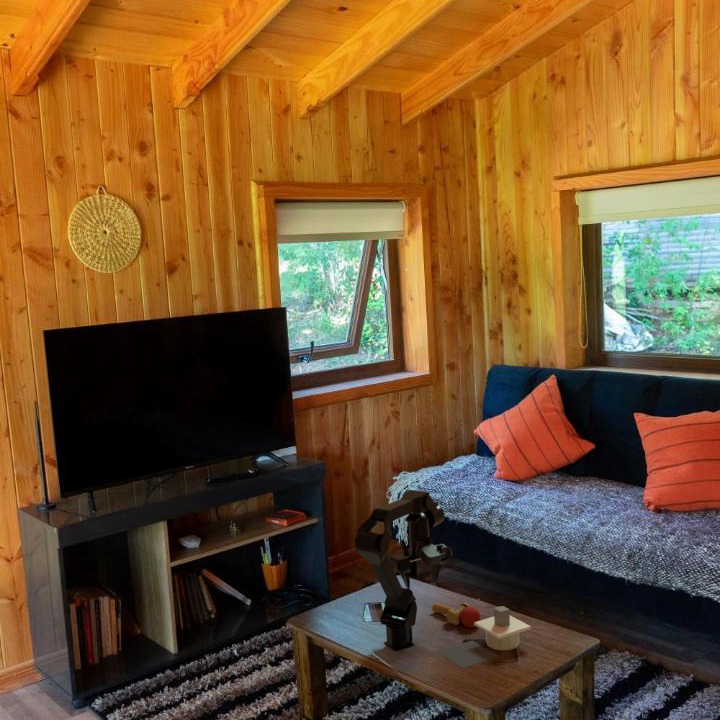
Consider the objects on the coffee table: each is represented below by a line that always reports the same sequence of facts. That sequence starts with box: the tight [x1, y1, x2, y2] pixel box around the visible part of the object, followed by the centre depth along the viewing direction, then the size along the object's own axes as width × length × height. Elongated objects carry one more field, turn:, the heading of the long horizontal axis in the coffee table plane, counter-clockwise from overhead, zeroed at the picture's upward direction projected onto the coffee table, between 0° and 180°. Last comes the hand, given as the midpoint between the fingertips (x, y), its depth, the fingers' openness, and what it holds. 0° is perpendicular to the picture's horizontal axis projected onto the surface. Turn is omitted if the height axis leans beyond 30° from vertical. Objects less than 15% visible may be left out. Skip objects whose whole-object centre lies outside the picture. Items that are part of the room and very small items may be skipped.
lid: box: [474, 605, 532, 639], centre depth 250 cm, size 11×11×5 cm
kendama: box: [431, 602, 482, 629], centre depth 268 cm, size 8×6×18 cm
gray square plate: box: [437, 640, 500, 669], centre depth 246 cm, size 12×12×1 cm
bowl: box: [485, 632, 521, 651], centre depth 251 cm, size 9×9×5 cm
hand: (421, 585), depth 263 cm, fingers open, 9 cm apart
